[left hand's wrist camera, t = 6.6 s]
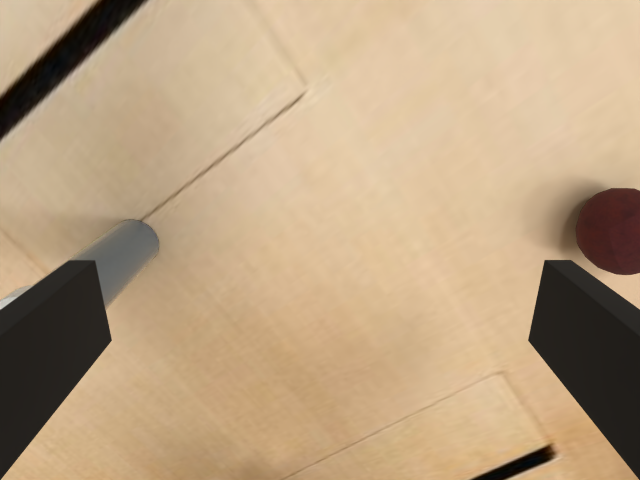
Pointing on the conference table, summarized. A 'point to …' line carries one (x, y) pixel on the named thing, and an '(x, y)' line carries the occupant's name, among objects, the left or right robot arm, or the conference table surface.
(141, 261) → the blue-grey bottle
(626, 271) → the dark brown ball
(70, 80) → the conference table surface
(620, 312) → the left robot arm
